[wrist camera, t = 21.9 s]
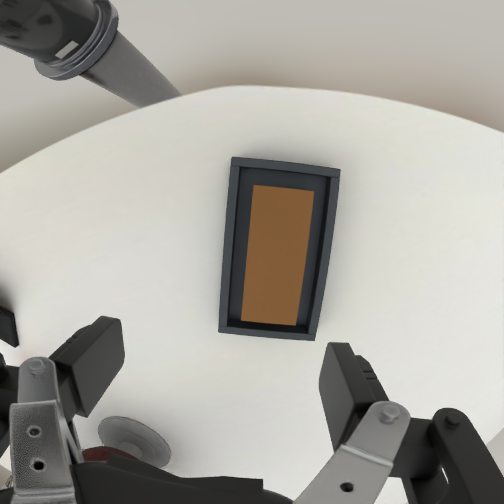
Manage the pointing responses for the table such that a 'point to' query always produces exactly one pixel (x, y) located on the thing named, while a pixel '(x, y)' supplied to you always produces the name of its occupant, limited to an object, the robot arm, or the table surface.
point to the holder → (237, 235)
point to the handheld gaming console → (8, 327)
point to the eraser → (276, 254)
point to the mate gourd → (129, 442)
